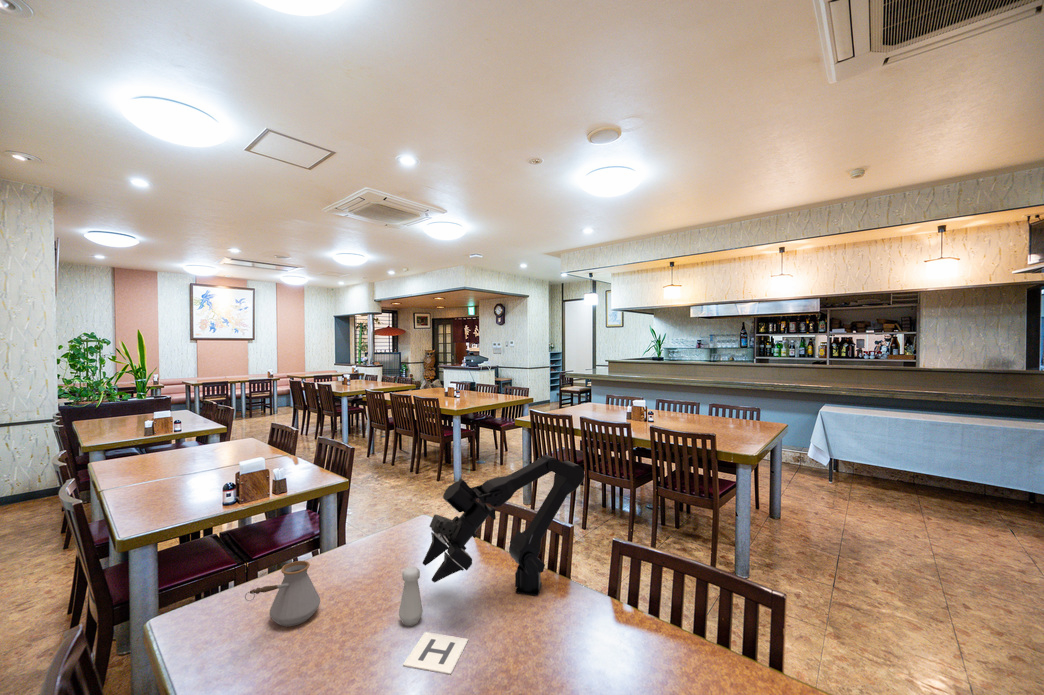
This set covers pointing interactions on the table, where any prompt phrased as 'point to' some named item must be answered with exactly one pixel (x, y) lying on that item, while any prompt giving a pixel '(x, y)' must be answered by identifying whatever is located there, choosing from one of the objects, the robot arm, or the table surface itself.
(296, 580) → the coffee pot
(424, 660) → the letter card
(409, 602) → the salt shaker
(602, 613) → the table surface
